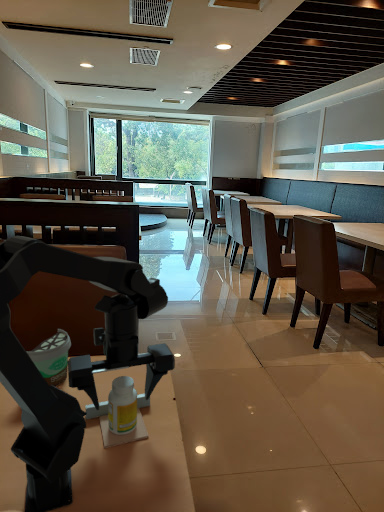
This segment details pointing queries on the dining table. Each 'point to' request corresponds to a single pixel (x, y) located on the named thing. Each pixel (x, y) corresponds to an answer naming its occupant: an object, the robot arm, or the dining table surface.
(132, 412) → the supplement bottle
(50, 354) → the food container
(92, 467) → the dining table surface
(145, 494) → the dining table surface
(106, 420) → the mat
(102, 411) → the low wall
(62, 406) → the robot arm
